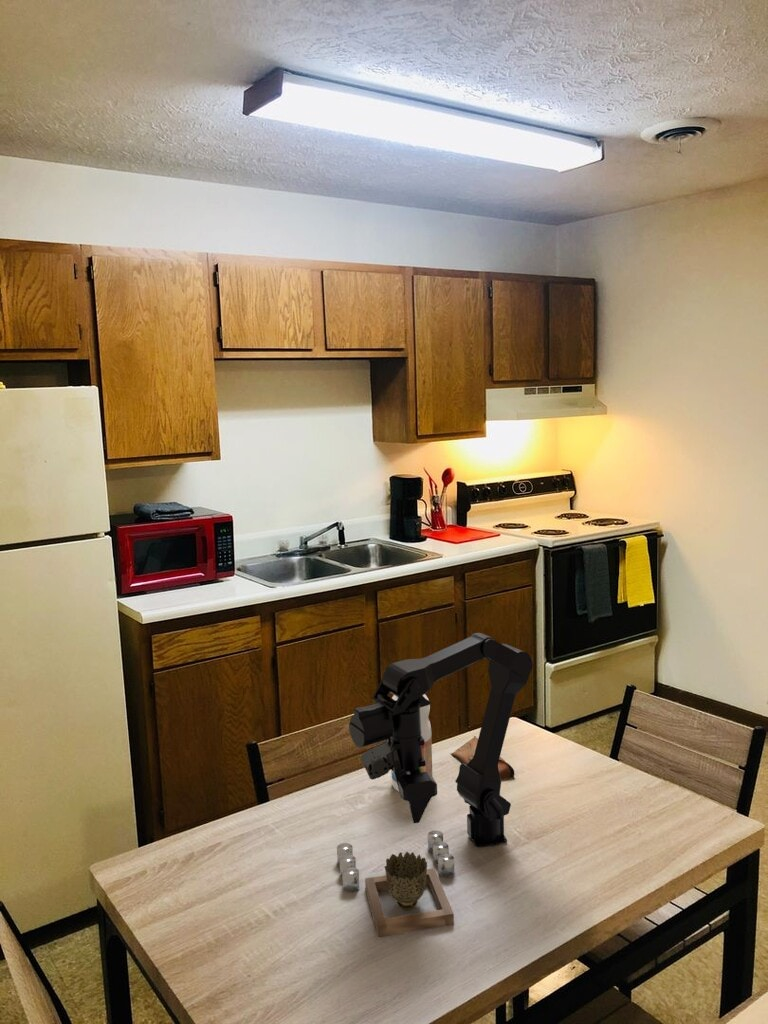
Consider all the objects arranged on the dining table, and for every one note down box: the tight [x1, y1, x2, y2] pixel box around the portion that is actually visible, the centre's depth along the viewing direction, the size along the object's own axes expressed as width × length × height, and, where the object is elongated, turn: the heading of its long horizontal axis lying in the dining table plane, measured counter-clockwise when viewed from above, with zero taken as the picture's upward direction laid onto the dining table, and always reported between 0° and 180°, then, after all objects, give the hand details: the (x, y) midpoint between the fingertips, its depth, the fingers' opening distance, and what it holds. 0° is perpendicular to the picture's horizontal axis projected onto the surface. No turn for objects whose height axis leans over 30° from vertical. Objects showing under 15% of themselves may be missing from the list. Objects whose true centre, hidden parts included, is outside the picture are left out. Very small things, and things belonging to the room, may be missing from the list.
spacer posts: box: [336, 830, 455, 893], centre depth 147 cm, size 21×11×3 cm, turn 101°
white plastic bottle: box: [390, 693, 434, 793], centre depth 175 cm, size 9×9×28 cm
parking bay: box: [364, 867, 455, 937], centre depth 136 cm, size 13×13×2 cm
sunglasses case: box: [450, 735, 515, 781], centre depth 186 cm, size 18×7×7 cm, turn 23°
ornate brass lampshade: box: [384, 851, 428, 911], centre depth 135 cm, size 8×7×8 cm
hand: (409, 809), depth 145 cm, fingers open, 9 cm apart
